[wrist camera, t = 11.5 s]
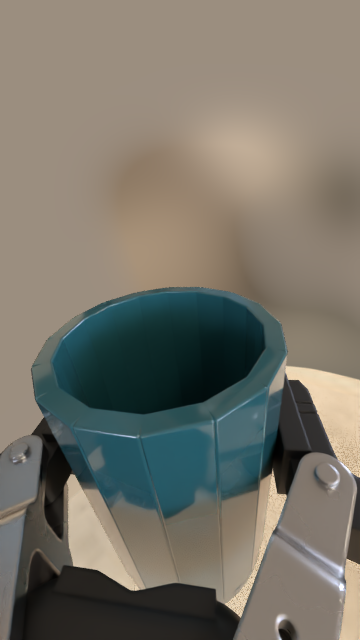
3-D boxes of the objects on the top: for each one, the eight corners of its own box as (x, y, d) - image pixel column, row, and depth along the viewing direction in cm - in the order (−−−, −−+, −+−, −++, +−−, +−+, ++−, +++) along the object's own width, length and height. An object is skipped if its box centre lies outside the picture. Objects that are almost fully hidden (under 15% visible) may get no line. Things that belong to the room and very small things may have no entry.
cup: (89, 534, 11) (-15, 360, 7) (174, 427, 16) (150, 278, 11) (218, 677, 8) (195, 526, 3) (281, 487, 12) (313, 304, 8)
